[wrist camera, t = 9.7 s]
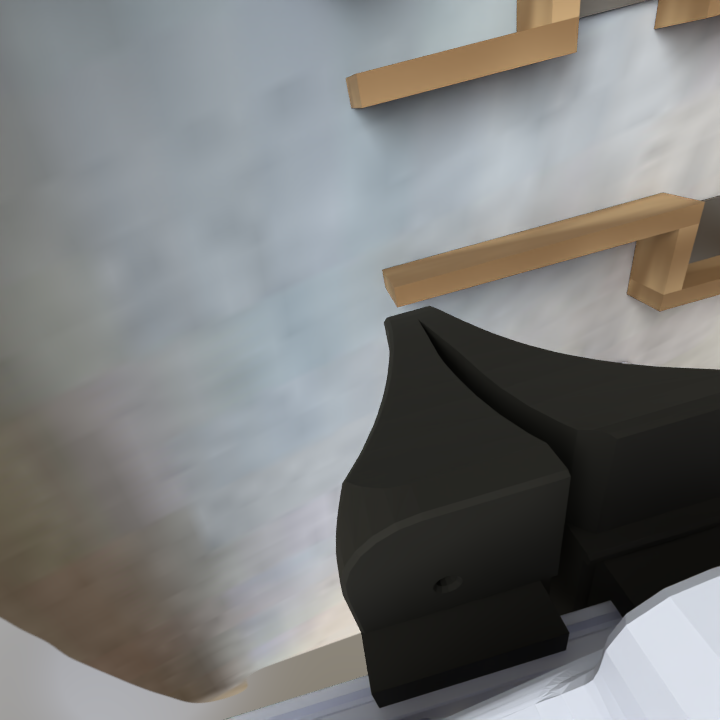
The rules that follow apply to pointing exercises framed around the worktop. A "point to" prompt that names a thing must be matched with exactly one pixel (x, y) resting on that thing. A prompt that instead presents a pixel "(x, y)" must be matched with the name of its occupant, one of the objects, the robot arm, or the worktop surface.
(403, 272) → the trap lane
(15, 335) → the worktop surface
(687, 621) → the robot arm
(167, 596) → the worktop surface
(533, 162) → the worktop surface
